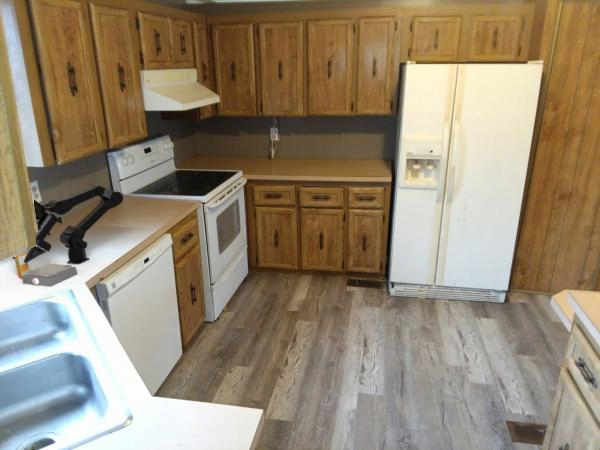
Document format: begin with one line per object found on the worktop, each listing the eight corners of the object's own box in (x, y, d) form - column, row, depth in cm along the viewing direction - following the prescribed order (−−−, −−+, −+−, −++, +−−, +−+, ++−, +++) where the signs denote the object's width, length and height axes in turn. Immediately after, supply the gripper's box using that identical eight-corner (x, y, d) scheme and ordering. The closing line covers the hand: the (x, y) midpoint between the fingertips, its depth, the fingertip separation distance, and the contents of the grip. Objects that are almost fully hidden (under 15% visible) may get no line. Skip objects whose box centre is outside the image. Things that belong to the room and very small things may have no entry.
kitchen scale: (50, 271, 181) (49, 264, 180) (77, 274, 177) (76, 267, 176) (21, 284, 168) (20, 276, 167) (49, 287, 164) (48, 279, 163)
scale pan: (49, 265, 179) (49, 263, 178) (71, 267, 176) (71, 265, 175) (26, 274, 168) (25, 272, 168) (49, 277, 165) (49, 275, 165)
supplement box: (17, 277, 175) (12, 253, 172) (26, 275, 177) (22, 251, 175) (21, 279, 173) (17, 255, 170) (30, 276, 176) (26, 252, 173)
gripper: (14, 213, 178) (-12, 246, 172) (38, 218, 168) (11, 254, 162) (38, 228, 186) (14, 260, 180) (61, 233, 176) (37, 268, 170)
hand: (18, 260), depth 173 cm, fingers open, 9 cm apart
